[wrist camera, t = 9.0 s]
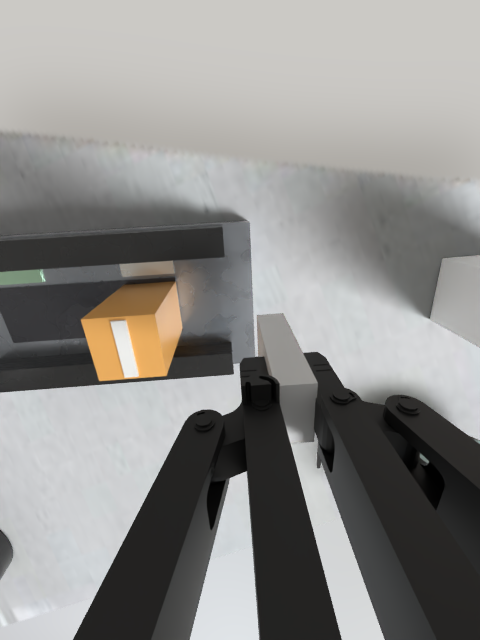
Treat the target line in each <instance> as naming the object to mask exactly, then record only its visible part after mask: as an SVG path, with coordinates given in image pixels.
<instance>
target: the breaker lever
mask: <svg viewBox="0 0 480 640" xmlns="http://www.w3.org/2000/svg"><path fill="white" fill-rule="evenodd" d="M81 323H82V326H83V329H84V332H85V336H86V339H87V342H88V346H89V349H90V352H91V355H92V359H93V362H94V365H95V369H96V372H97V375H98V379H99V381H108V380H121V379H134V378H147V377H160V376H167V373H168V370H169V367H170V364H171V361H172V358H173V355H174V352H175V349H176V346H177V343H178V340H179V337H180V334H181V331H182V328H183V327H182V320H181V314H180V307H179V300H178V294H177V287H176V281H174V282H159V283H144V284H129V285H123V286H122V287H121V288H119V289H118V290H117V291H116V292H114V293H113V294H112V295H111V296H109V297H108V298H107V299H106V300H104V301H103V302H102V303H101V304H99V305H98V306H97V307H96V308H94V309H93V310H92V311H91V312H89V313H88V314H87V315H86V316H84V317H83V318H82V319H81Z"/></svg>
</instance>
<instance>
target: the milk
mask: <svg viewBox="0 0 480 640" xmlns="http://www.w3.org/2000/svg"><path fill="white" fill-rule="evenodd" d="M430 320H431V321H433V322H435V323H436V324H438V325H440V326H442V327H444V328H445V329H447V330H449V331H451V332H453V333H454V334H456V335H458V336H460V337H462V338H463V339H465V340H467V341H469V342H470V343H472V344H474V345H476V346H478V347H479V348H480V255H474V256H462V257H451V258H443V259H442V263H441V267H440V272H439V277H438V282H437V287H436V292H435V296H434V301H433V306H432V311H431V316H430Z"/></svg>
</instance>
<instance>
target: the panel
mask: <svg viewBox="0 0 480 640" xmlns="http://www.w3.org/2000/svg"><path fill="white" fill-rule="evenodd" d="M174 281H176V287H177V294H178V300H179V307H180V314H181V320H182V327H183V328H182V331H181V334H180V337H179V340H178V343H177V346H176V349H175V352H174V355H173V358H172V361H171V364H170V367H169V370H168V373H167V376H160V377H147V378H134V379H121V380H108V381H99V379H98V375H97V372H96V369H95V365H94V362H93V359H92V355H91V352H90V349H89V346H88V342H87V339H86V336H85V332H84V329H83V326H82V323H81V319H82V318H83V317H84V316H86V315H87V314H88V313H89V312H91V311H92V310H93V309H94V308H96V307H97V306H98V305H99V304H101V303H102V302H103V301H104V300H106V299H107V298H108V297H109V296H111V295H112V294H113V293H114V292H116V291H117V290H118V289H119V288H121V287H122V286H123V285H129V284H144V283H159V282H174ZM249 357H255V345H254V320H253V295H252V270H251V245H250V222H249V221H233V222H217V223H201V224H185V225H169V226H153V227H137V228H121V229H105V230H89V231H73V232H56V233H40V234H24V235H8V236H0V392H12V391H25V390H38V389H51V388H64V387H77V386H89V385H102V384H115V383H128V382H141V381H154V380H167V379H180V378H193V377H205V376H218V375H231V374H234V370H233V364H235V363H241V361H242V360H243V358H249Z"/></svg>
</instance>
